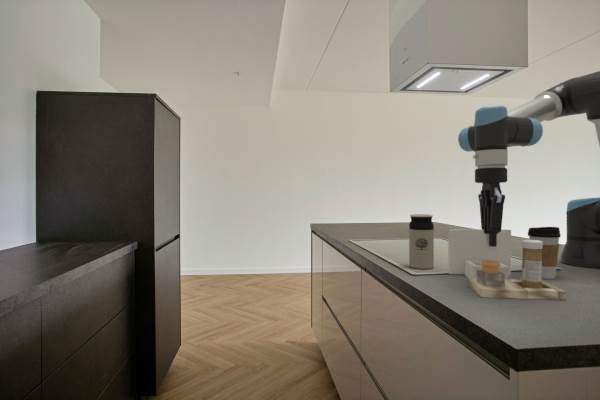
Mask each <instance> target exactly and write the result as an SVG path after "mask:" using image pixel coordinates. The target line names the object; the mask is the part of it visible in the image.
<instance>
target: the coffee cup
mask: <svg viewBox="0 0 600 400" xmlns="http://www.w3.org/2000/svg"><path fill="white" fill-rule="evenodd" d="M561 235H562V234H561V231H560V227H557V226H543V227H542V226H541V227H528V231H527V236H528V237H529V239H528V240H539V241H542V242H543V248H542V280H543V279H545V280H553V279H556V273H557V264H558V258H559V257H558V256H559V248H560V244H559V243H560V242H559V240H560V238H561Z"/></svg>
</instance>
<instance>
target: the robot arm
mask: <svg viewBox="0 0 600 400" xmlns="http://www.w3.org/2000/svg"><path fill="white" fill-rule="evenodd" d="M582 114H585V115H586V119H587V121H588V122H590V123H592V124H594V127H595V132H596V136H597V141H598V142H597V143H598V146H599V147H600V70H599V71H595V72H591V73H588V74H584V75H581V76H577V77H573V78H569V79H567V80H565V81H563V82H561V83H558V84H556V85H554V86H553V87H550V88H549V89H546V90H544V91H542V92H540V93H538V94H537V95H535V97H534V98H533V99H532V100H530V101H527V102H525V103H523V104H521V105H518V106H517V107H514V108H512V109H510V110H508V107H506V106H504V105H489V106H487V105H486V106H483V107H480V108H478V109H476V111H475V113H474V123H473V125H470V126H467V127H464V128H462V129H461V130H460V131H459V133H458V137H457V139H458V140H457V141H458V145H459V147H460V148H461V150H463V151H464V152H474V154H473V156H472V159H474V166H475V167H477V168H475V170H474V183H476V184H482V186H481V189H480V193H479V194H478V201H479V212H480V223H481V224H480V226H481V228H480V229H482V230H484V234H485V259H498V233H499V232H501V230H502V226H503V225H502V224H503V215H504V212H503V211H504V203H505V200H506V195H505V194H503V193H502V190H501V183H502V184H504V183H507V182H508V168H507V167H506V166H508V162H509V161H508V156H509V155H508V148H510V147H523V148H524V147H531V146H534V145H536V144H538V143H539V141H540V140H541V139H542V136H543V134H544V129H543V128H544V127H543V125H542V123H541V122H544V121H545V122H546V121H547V122H548V121H553V120H555V119H558V118H562V117H568V116H574V115H582ZM566 205H567V206H566V211H565V213H566V242H565V244H564V246H563V249H562V251H561V255H560V263H563V264H566V265H569V266H570V265H571V266H575V267H584V268H597V269H599V268H600V197H599V196H598V197H589V198H578V199H572V200H569V201H568V202H567V204H566Z"/></svg>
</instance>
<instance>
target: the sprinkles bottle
mask: <svg viewBox="0 0 600 400" xmlns="http://www.w3.org/2000/svg"><path fill="white" fill-rule="evenodd" d="M521 248H522V249H521V250H522V262H521V263H522V264H521V280H522V287H523V288H541V282H542V280H543V278H542V248H543V242H542V241H539V240H529V239H523V240H521Z"/></svg>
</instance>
